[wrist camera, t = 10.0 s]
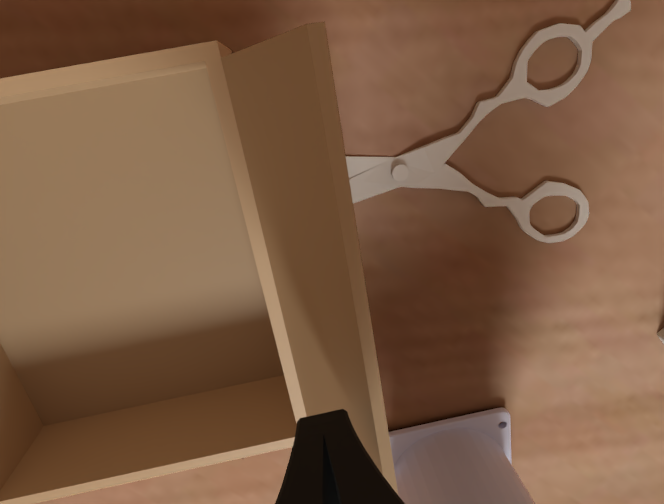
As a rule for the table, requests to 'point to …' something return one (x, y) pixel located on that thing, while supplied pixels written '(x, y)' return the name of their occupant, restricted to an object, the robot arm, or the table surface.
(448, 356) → the table surface
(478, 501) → the robot arm
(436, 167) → the scissors
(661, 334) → the small box
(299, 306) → the flap
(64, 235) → the carton
